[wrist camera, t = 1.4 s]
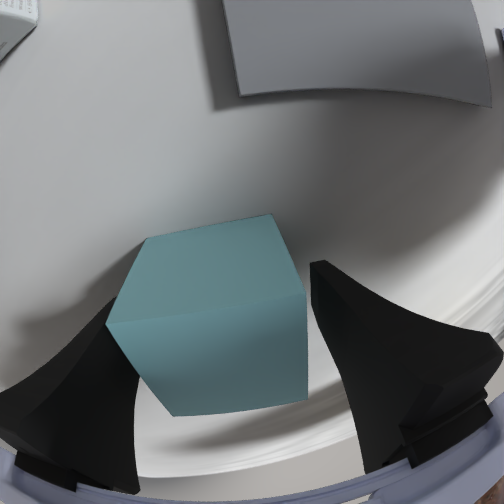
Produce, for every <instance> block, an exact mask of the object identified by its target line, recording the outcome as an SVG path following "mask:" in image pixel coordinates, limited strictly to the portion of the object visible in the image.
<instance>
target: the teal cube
mask: <svg viewBox="0 0 504 504" xmlns="http://www.w3.org/2000/svg"><path fill="white" fill-rule="evenodd" d="M106 326H107V327H108V329H109V331H110V332H111V334H112V335H113V337H114V339H115V340H116V342H117V343H118V345H119V346H120V348H121V349H122V351H123V352H124V354H125V355H126V357H127V358H128V360H129V361H130V363H131V364H132V365H133V367H134V368H135V370H136V371H137V372H138V374H139V375H140V376H141V378H142V379H143V380H144V382H145V383H146V384H147V386H148V387H149V388H150V390H151V391H152V392H153V393H154V395H155V396H156V397H157V398H158V400H159V401H160V402H161V403H162V404H163V406H164V407H165V408H166V409H167V410H168V412H169V413H170V414H171V415H172V416H173V417H175V416H197V415H211V414H222V413H231V412H239V411H247V410H254V409H260V408H267V407H272V406H278V405H283V404H288V403H293V402H298V401H302V400H307V399H308V332H307V302H306V291H305V289H304V287H303V284H302V282H301V279H300V277H299V275H298V273H297V270H296V268H295V266H294V263H293V261H292V259H291V256H290V254H289V252H288V250H287V247H286V245H285V243H284V241H283V238H282V236H281V234H280V232H279V229H278V227H277V225H276V223H275V221H274V218H273V216H272V214H269V215H263V216H257V217H252V218H246V219H241V220H235V221H230V222H225V223H219V224H214V225H209V226H204V227H199V228H194V229H189V230H184V231H179V232H174V233H169V234H165V235H160V236H155V237H151V238H147V239H146V240H145V242H144V244H143V246H142V248H141V250H140V252H139V254H138V256H137V258H136V260H135V261H134V263H133V265H132V267H131V269H130V271H129V273H128V275H127V278H126V280H125V282H124V284H123V286H122V288H121V290H120V292H119V294H118V296H117V299H116V301H115V303H114V305H113V308H112V310H111V312H110V314H109V317H108V319H107V321H106Z"/></svg>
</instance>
